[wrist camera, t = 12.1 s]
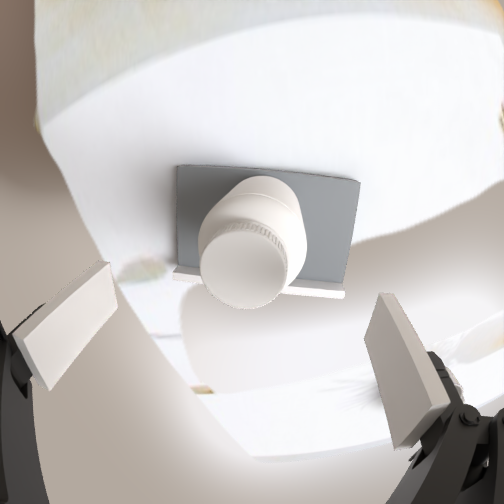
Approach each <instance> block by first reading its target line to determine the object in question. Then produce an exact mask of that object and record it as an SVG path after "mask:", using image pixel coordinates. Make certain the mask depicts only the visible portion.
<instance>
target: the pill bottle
mask: <svg viewBox="0 0 504 504" xmlns="http://www.w3.org/2000/svg"><path fill="white" fill-rule="evenodd" d="M198 250H199V256H200V260H199V263H200V264H199V267H200V268H199V271H200V275H201V279H202V281H203V283H204V285H205V287H206V288H207V290H208V291H209V292H210V293H211V294H212V296H214V297H215V298H216V299H217V300H219V301H220V302H222V303H224V304H226V305H228V306H231V307H234V308H239V309H253V308H258V307H261V306H264V305H266V304H268V303H270V302H271V301H273V300H274V299H275V298H276V297H277V296H278V295H279V293H281V291H282V290H283V289H284V288H285V287H287V286H288V285H289V284H290V283H291V282H292V281H293V280H294V279H295V278H296V276H297V275H298V274H299V272H300V270H301V269H302V267H303V264H304V261H305V258H306V252H307V240H306V233H305V229H304V224H303V219H302V214H301V210H300V205H299V202H298V199H297V197H296V195H295V193H294V192H293V191H292V189H291V188H290V187H289V186H288V185H287V184H285V183H284V182H282V181H281V180H279V179H277V178H274V177H270V176H254V177H250V178H248V179H245V180H243V181H242V182H240V183H239V184H237V185H236V186H235V187H234V188H233V189H232V190H231V191H230V192H229V193H228V194H227V195H226V196H224V197H223V198H222V199H221V200H220V201H219V202H218V203H217V204H216V205H215V206H214V207H213V208H212V209H211V210H210V211H209V213H208V214H207V215H206V217H205V219H204V220H203V222H202V225H201V228H200V231H199V236H198Z"/></svg>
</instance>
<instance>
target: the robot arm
mask: <svg viewBox="0 0 504 504" xmlns="http://www.w3.org/2000/svg"><path fill="white" fill-rule="evenodd" d="M117 308H118V305H117V301H116V296H115V290H114V285H113V279H112V273H111V266H110V262H104V261H97V262H96V263H95V264H93V265H92V266H91V267H89V268H88V269H87V270H86V271H84V272H83V273H82V274H81V275H79V276H78V277H77V278H75V279H74V280H73V281H72V282H71V283H69V284H68V285H67V286H66V287H64V288H63V289H62V290H61V291H60V292H58V293H57V294H56V295H55V296H54V297H52V298H51V299H50V300H49V301H48V302H47V303H45V304H43V305H41V306H39V307H38V308H37V309H36V310H34V311H33V312H32V314H30V315H29V316H28V317H27V319H24V320H23V321H22V322H21V323H20V324H19V325H18V326H17V327H16V328H15V329H14V330H12V331H11V332H10V333H9V334H8V335H6V333H5V331H4V328H3V326H2V324H1V321H0V504H49V500H48V496H47V493H46V489H45V485H44V481H43V476H42V472H41V468H40V462H39V456H38V450H37V443H36V435H35V427H34V416H33V401H32V384H31V381H30V377H32V375H33V377H34V378H35V380H36V381H37V383H38V385H40V386H41V387H43V388H45V389H47V390H49V391H51V389H52V388H53V387H54V385H55V384H56V383H57V382H58V380H59V379H60V378H61V376H62V375H63V374H64V372H65V371H66V370H67V369H68V367H69V366H70V365H71V363H72V362H73V361H74V360H75V358H76V357H77V356H78V355H79V353H80V352H81V351H82V350H83V349H84V347H85V346H86V345H87V344H88V342H89V341H90V340H91V339H92V338H93V336H94V335H95V334H96V333H97V332H98V330H99V329H100V328H101V327H102V326H103V325H104V323H105V322H106V321H107V320H108V319H109V317H110V316H111V315H112V314H113V313H114V312H115V311H116V309H117ZM364 341H365V344H366V347H367V350H368V353H369V356H370V360H371V363H372V366H373V370H374V373H375V377H376V380H377V383H378V387H379V391H380V394H381V398H382V402H383V405H384V409H385V413H386V417H387V421H388V425H389V429H390V433H391V438H392V442H393V446H394V450H401V449H407V448H412V447H413V446H414V445H415V444H416V443H417V442H418V441H419V440H420V441H421V445H422V447H421V448H420V449H419V450H418V451H417V452H416V453H415V454H414V455H413V456H412V457H411V458H410V459H409V461H412V460H413V461H412V463H411V465H410V466H409V468H408V470H407V471H406V473H405V475H404V477H403V478H402V480H401V481H400V483H399V485H398V486H397V488H396V489H395V491H394V492H393V494H392V495H391V497H390V498H389V500H388V501H387V502H386V504H504V408H503V409H501V410H500V411H499V412H498V413H497V414H496V415H495V416H494V417H487V416H481V415H480V413H479V412H478V410H477V409H476V408H474V407H473V406H471V405H468V404H463V402H462V400H461V398H460V395H459V393H458V391H457V389H456V387H455V385H454V383H453V381H452V379H451V378H450V375H449V373H448V371H447V370H446V368H445V366H444V364H443V362H442V360H441V359H440V358H439V357H438V356H437V355H436V354H435V353H434V352H433V351H431V352H426V350H425V348H424V346H423V344H422V342H421V341H420V339H419V337H418V335H417V333H416V331H415V330H414V328H413V326H412V324H411V322H410V321H409V319H408V317H407V315H406V314H405V312H404V310H403V309H402V307H401V305H400V304H399V302H398V300H397V299H396V297H395V295H394V294H391V293H379V296H378V299H377V302H376V305H375V309H374V311H373V314H372V317H371V320H370V323H369V326H368V329H367V332H366V334H365V337H364ZM488 459H489V463H488V466H487V460H488Z"/></svg>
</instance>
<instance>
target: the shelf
mask: <svg viewBox="0 0 504 504" xmlns="http://www.w3.org/2000/svg"><path fill="white" fill-rule="evenodd" d="M254 176H270V177H274V178H277V179H279V180H281V181H282V182H284V183H285V184H287V185H288V186H289V187H290V188H291V189H292V191H293V192H294V193H295V195H296V197H297V199H298V202H299V205H300V210H301V214H302V219H303V224H304V229H305V233H306V240H307V252H306V258H305V261H304V264H303V267H302V269H301V270H300V272H299V274H298V275H297V276H296V278H295V279H294V280H293V281H292V282H291V283H290V284H289V285H288V286H287V287H285V288H284V289H283V290H282V291H281V293H284V294H295V295H305V296H316V297H327V298H339V299H343V298H344V294H345V289H344V287H343V278H344V274H345V269H346V265H347V259H348V255H349V250H350V245H351V240H352V234H353V229H354V223H355V217H356V211H357V205H358V198H359V191H360V184H361V183H360V182H358V181H356V180H350V179H343V178H337V177H329V176H322V175H314V174H306V173H297V172H288V171H278V170H267V169H255V168H241V167H225V166H203V165H181V166H177V245H178V266H177V268H176V269H175V270H174V271H173V280H177V281H184V282H192V283H199V284H204V283H203V281H202V279H201V275H200V271H199V268H200V267H199V264H200V263H199V260H200V256H199V250H198V236H199V231H200V228H201V225H202V222H203V220H204V219H205V217H206V215H207V214H208V213H209V211H210V210H211V209H212V208H213V207H214V206H215V205H216V204H217V203H218V202H219V201H220V200H221V199H222V198H223V197H224V196H226V195H227V194H228V193H229V192H230V191H231V190H232V189H233V188H234V187H235V186H236V185H237V184H239V183H240V182H242V181H243V180H245V179H248V178H250V177H254Z"/></svg>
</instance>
